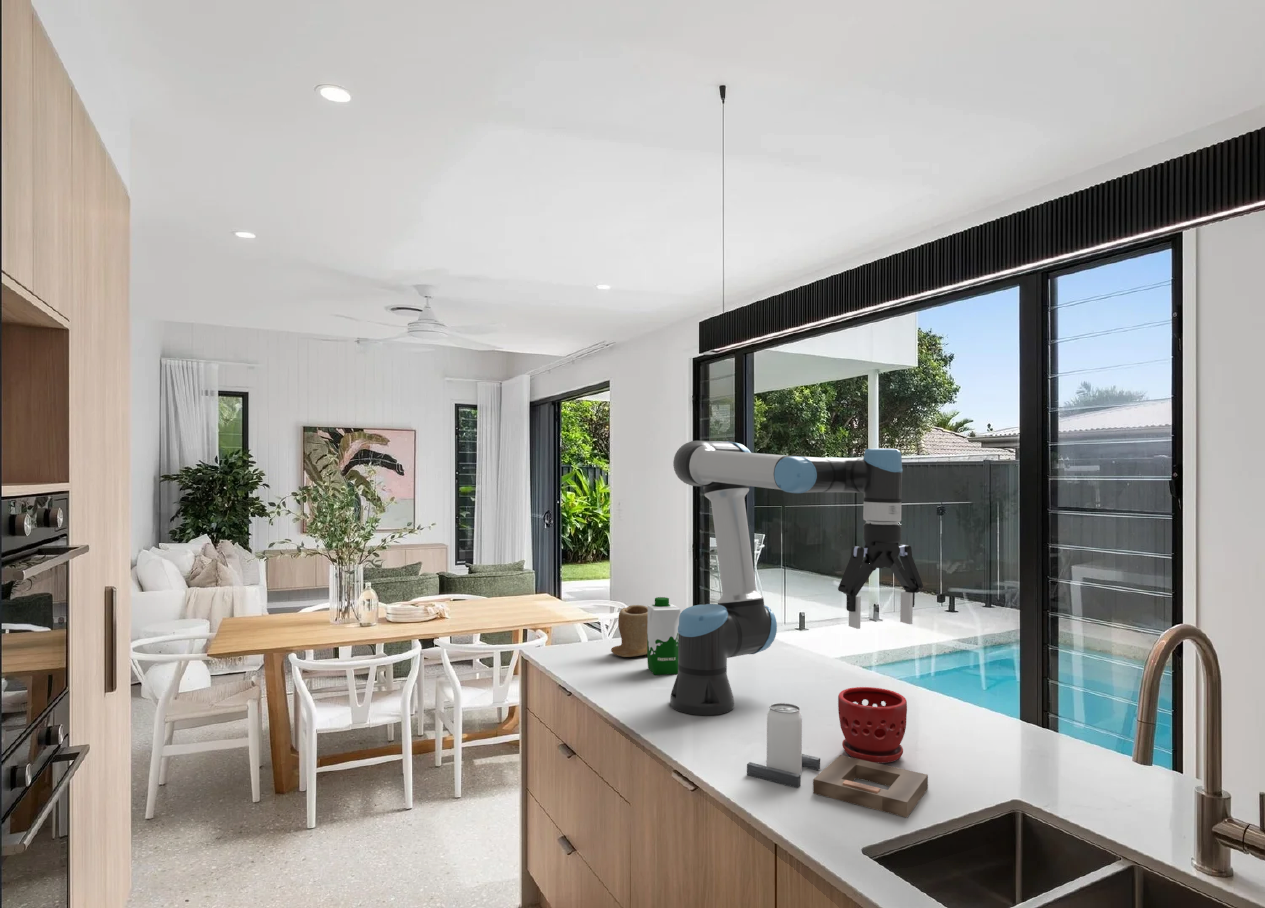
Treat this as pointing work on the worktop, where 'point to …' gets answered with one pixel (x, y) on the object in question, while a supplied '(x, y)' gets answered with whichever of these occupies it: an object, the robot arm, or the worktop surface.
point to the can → (784, 737)
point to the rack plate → (894, 800)
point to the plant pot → (872, 723)
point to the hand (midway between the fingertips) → (880, 625)
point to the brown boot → (632, 631)
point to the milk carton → (662, 637)
